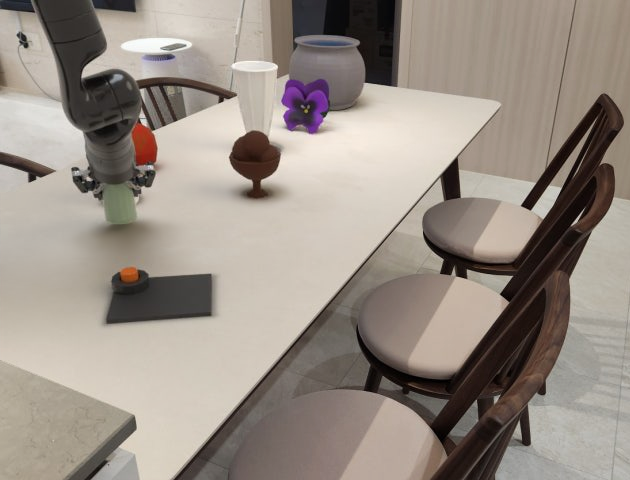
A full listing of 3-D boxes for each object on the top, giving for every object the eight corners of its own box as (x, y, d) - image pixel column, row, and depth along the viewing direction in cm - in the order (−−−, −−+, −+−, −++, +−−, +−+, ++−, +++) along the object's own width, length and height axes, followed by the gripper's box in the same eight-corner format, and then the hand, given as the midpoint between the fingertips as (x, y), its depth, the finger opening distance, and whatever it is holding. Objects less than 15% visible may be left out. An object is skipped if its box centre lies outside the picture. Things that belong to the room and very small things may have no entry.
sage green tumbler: (103, 224, 118) (96, 184, 114) (108, 212, 123) (101, 173, 119) (135, 223, 119) (129, 183, 115) (138, 211, 124) (133, 172, 120)
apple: (139, 179, 145) (131, 129, 139) (105, 171, 148) (96, 122, 142) (168, 166, 153) (163, 119, 147) (136, 159, 156) (129, 112, 150)
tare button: (120, 283, 100) (119, 275, 99) (122, 275, 102) (121, 267, 101) (137, 282, 100) (136, 274, 99) (139, 274, 102) (138, 266, 102)
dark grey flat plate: (105, 327, 94) (102, 310, 92) (116, 286, 104) (113, 270, 103) (211, 319, 97) (210, 302, 95) (212, 279, 107) (210, 264, 106)
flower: (291, 136, 194) (273, 126, 181) (300, 88, 193) (283, 74, 180) (336, 143, 190) (321, 133, 177) (345, 93, 189) (331, 79, 176)
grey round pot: (310, 90, 224) (310, 31, 214) (375, 100, 216) (378, 39, 206) (274, 106, 204) (272, 41, 194) (345, 117, 196) (346, 50, 186)
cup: (267, 141, 173) (264, 59, 162) (288, 153, 165) (286, 67, 154) (228, 148, 166) (222, 62, 156) (248, 161, 159) (243, 72, 148)
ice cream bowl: (292, 195, 141) (291, 128, 133) (258, 210, 133) (254, 140, 125) (256, 183, 146) (253, 118, 138) (221, 198, 137) (216, 130, 130)
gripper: (153, 130, 108) (154, 172, 123) (60, 135, 103) (74, 179, 118) (159, 170, 106) (160, 208, 122) (66, 177, 101) (79, 216, 117)
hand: (117, 193), depth 120 cm, fingers closed on sage green tumbler, 5 cm apart
